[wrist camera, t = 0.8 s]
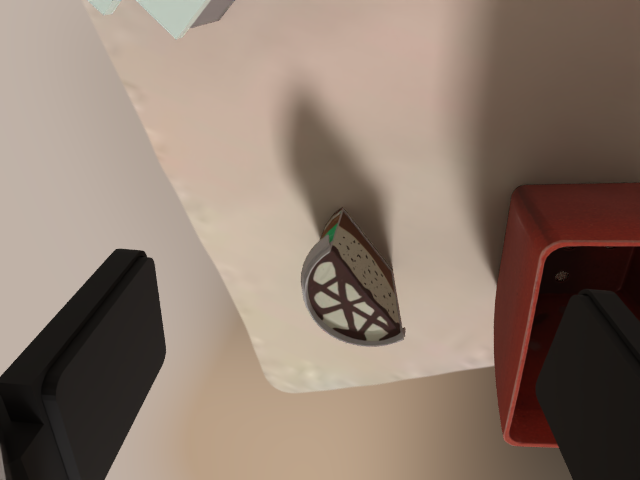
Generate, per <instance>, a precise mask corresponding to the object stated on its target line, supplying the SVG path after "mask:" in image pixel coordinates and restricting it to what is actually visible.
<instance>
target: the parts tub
mask: <svg viewBox="0 0 640 480" xmlns="http://www.w3.org/2000/svg"><path fill="white" fill-rule="evenodd" d="M234 1H235V0H211V1H210V2H209V3H208V5H207V6H206V7H205V9H204V10H203V11H202V13H201V14H200V15H199V16H198V18H197V19H196V20H195V22H194V23H193V24H192V26H191V27H190V28H193V27H197V26H201V25H204V24H208V23H212V22H215V21H219V20H220V18H221V17H222V16H223V15H224V13H225V12H226V11H227V10H228V8H229V7H230V6H231V5H232V3H233V2H234ZM190 28H189V29H190Z"/></svg>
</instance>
